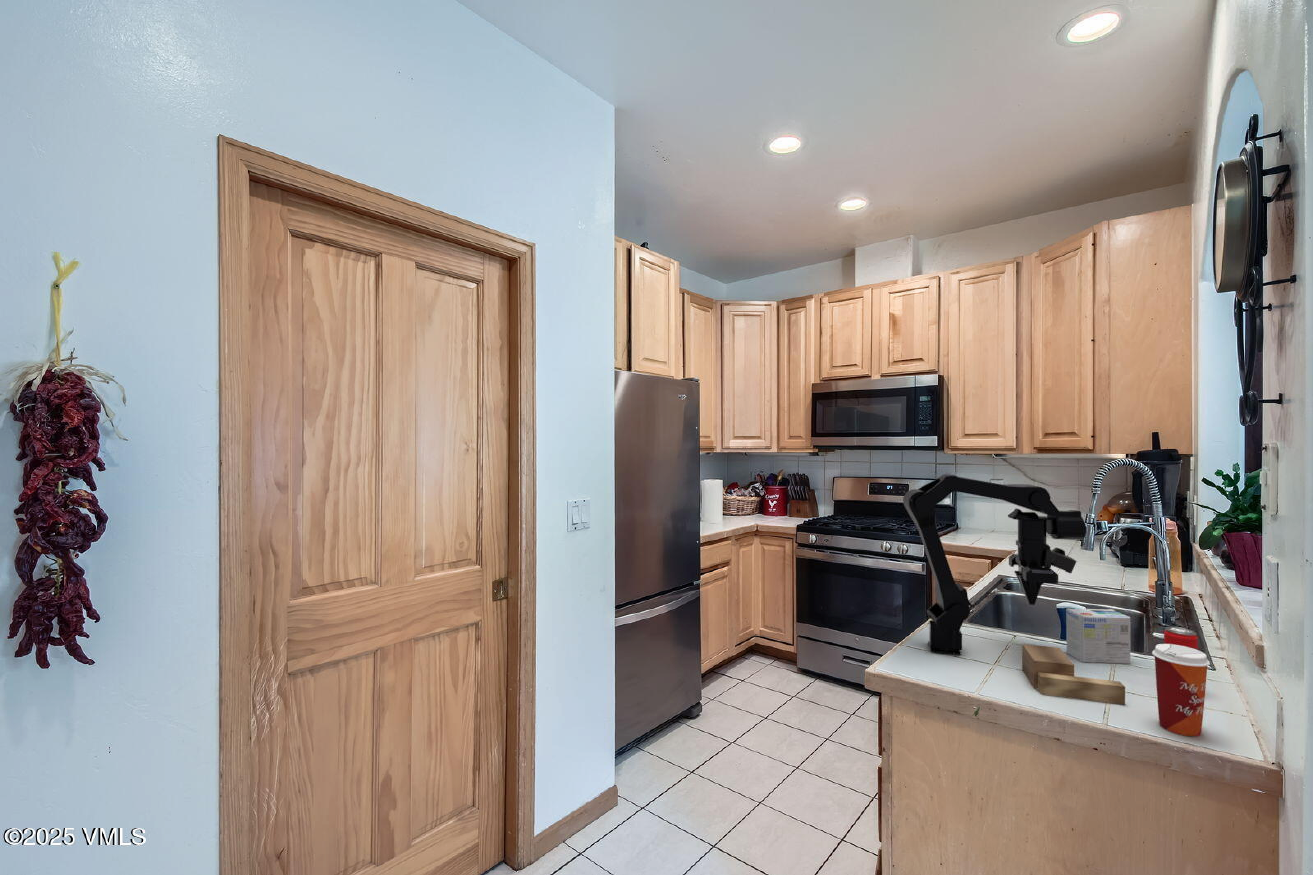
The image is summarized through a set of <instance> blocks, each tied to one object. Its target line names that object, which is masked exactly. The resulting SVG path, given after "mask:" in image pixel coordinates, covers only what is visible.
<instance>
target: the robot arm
mask: <svg viewBox="0 0 1313 875" xmlns="http://www.w3.org/2000/svg"><path fill="white" fill-rule="evenodd" d="M953 492H956V493H957V492H958V493H962V494H969V495H973V496H979V497H984V498H990V499H995V500H1001V501H1004V502H1006V503H1010V504H1013V505H1014V506H1015V505H1016V506H1017V507H1021V508H1024V509H1027V510H1031V511H1029V512H1028V511H1022V510H1021V509H1019V508H1014V509H1013V511H1012V512H1010V513H1009V514H1008V515H1007V517H1008V518H1010V519H1012V520H1017V539H1015V545H1016V546H1017V553H1012V554H1011V555H1010V556H1008V565H1009V566H1010V567H1011V568H1013V567H1015V566H1018V567H1017V568H1018V569H1017V570H1014V571H1013V572H1014V574H1015V576H1016V579H1017V580H1018V583H1019V584H1020V587H1021V589H1022V591H1023V594H1024V596H1025V598H1026V600H1027V603H1028V604H1029V605H1030V606H1035V605H1036V601H1037V599H1038V596H1039V593H1040V590H1041V588H1042V585H1043V584H1044V585H1045V584H1050V585H1051V584H1052V585H1057V584H1059V574H1058V573H1057V572H1056V571H1055V570H1053V569H1052V567H1054V568H1057V569H1060V570H1062V571H1065V573H1068V574H1072V572H1073V570H1074V568H1075V567H1076V564H1077V562H1078V561H1077V560H1075V559H1074V558H1072V557H1070V556H1069V555H1066V551H1065V550H1064V549H1062V548H1059V547H1055V548H1053V549H1051V546H1050V545H1049V544H1048V543H1047V534H1048V535H1050V537H1051V538H1052V539H1054V540H1070V541H1071V540H1073V541H1075V540H1077V541H1078V540H1079V541H1081V540H1084V539H1085V537H1086V536H1087V526H1086V522H1085V520H1084V518H1083V517H1082V511H1080V510H1077V509H1069V510H1059V509H1058V507H1057V506H1056V505H1055V504H1054V503H1053V502H1052V500H1051V494H1050V493H1049V491H1048V490H1047V489H1046V488H1044V487H1042V486H1039V485H1034V484H1033V485H1032V484H1029V483H1028V484H1025V483H1023V484H1022V483H1020V484H1019V483H1012V484H1011V483H1010V484H1004V483H1003V484H1002V483H996V482H990V481H985V480H980V479H974V478H968V477H963V476H957V475H955V474H951V473H944V474H942V475H940V476H939V477H937V478H936V479H934V480H932V481H930V482H928V483H926V484H924V485H923V486H921V487H919V488H918V489H916V488H913V489H910V490H908V491H907V492H905V494H904V495H903V498H902V504H903V505H904V508H905V510H906V511H907V513H908V515H909V517H910V518H911V520H912V521H913V523H914V524H915V527H916V528H917V530H918V533H919V537H920V540H921V542H922V545H923V546H922V547H923V549H924V551H925V554H926V558H927V561H928V563H929V566H930V570H931V573H932V575H933V579H934V581H935V582H934V583H935V586H934V587H935V590H934V592H935V600H936V602H935V603H933V604H932V605H931V606H930V607H929V608H928V609H927V610H926V613H927V616H928V618H929V619H931V620H929V622H928V623H929V626H928V628H929V633H928V634H929V640H928V643H927V644H928V647H929V650H930V652H931V653H937V654H946V655H955V656H960V655H962V654H961V653H962V652H961V651H962V650H963V633H962V631H961V628H962V626H963V623H964V621H965V620H967V619H968V618H969V616H970V614H971V607H973V604H972V603H971V602H970V600H969V596H968V591H967V588H965V587H964V586H963V585H962V584H960V583H959V582H958V583H956V582H955V580H954V576H953V573H952V570H951V567H950V565H949V564H950V563H949V561H948V558H947V555H946V551H945V549H944V546H943V543H942V539H941V537H940V534H939V532H938V527H937V523H936V522H937V512H936V505H938V504H940V503H941V502H942V501H943V500H944V499H946V498H947V497H948V496H949V495H950V494H952V493H953ZM1036 512H1037V513H1036ZM1038 513H1040V514H1044V515H1043V516H1042V515H1038ZM1045 515H1046V516H1045Z"/></svg>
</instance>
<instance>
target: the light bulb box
mask: <svg viewBox="0 0 1313 875" xmlns="http://www.w3.org/2000/svg"><path fill="white" fill-rule="evenodd" d="M1065 610H1066V614H1065V615H1066V616H1065V617H1066V618H1065V620H1066V653H1067V654H1069V655H1070V656H1072V657H1073V658H1075V659H1077V660H1078V661H1080V662H1081V663H1101V664H1102V663H1103V664H1104V663H1105V664H1131V617H1130V616H1129V615H1126V614H1123V613H1121V612H1118V611H1117V610H1115V609H1112V608H1111V609H1110V608H1107V609H1105V608H1104V609H1100V608H1099V609H1098V608H1070V607H1069V608H1066V609H1065Z"/></svg>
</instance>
